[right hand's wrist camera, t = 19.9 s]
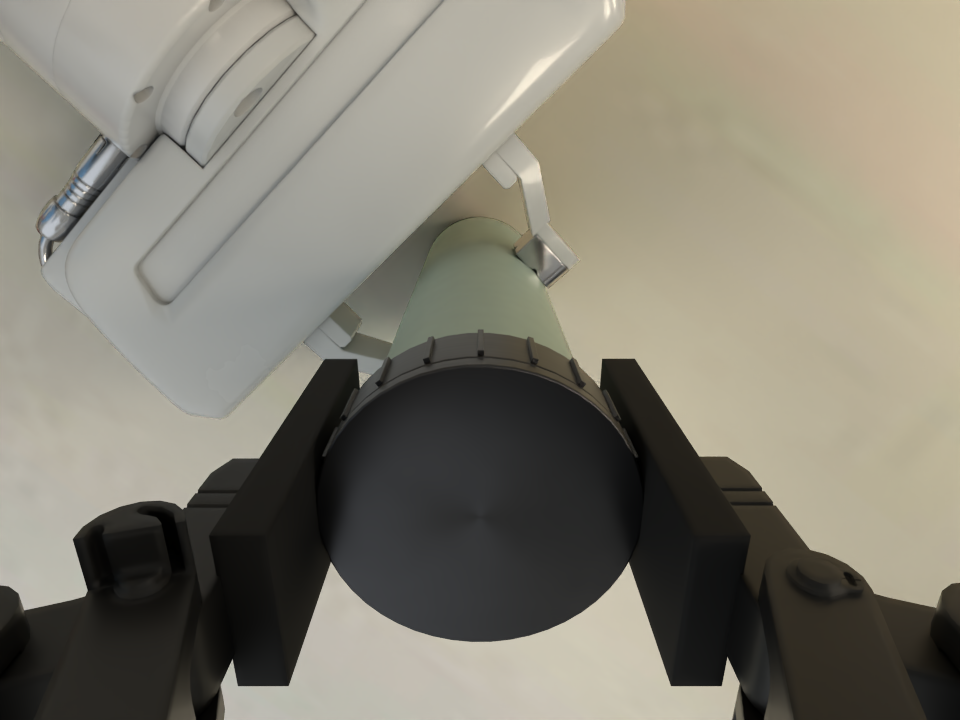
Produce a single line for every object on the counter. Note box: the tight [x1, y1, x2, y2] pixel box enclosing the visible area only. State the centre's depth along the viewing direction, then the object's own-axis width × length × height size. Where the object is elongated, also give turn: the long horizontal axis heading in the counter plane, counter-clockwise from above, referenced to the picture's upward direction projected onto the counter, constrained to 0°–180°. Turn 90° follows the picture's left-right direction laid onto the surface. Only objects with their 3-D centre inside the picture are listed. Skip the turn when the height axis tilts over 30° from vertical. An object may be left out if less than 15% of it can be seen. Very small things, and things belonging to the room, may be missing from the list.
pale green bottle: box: [387, 217, 573, 360], centre depth 20 cm, size 5×5×18 cm
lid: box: [316, 329, 644, 642], centre depth 11 cm, size 6×6×2 cm
